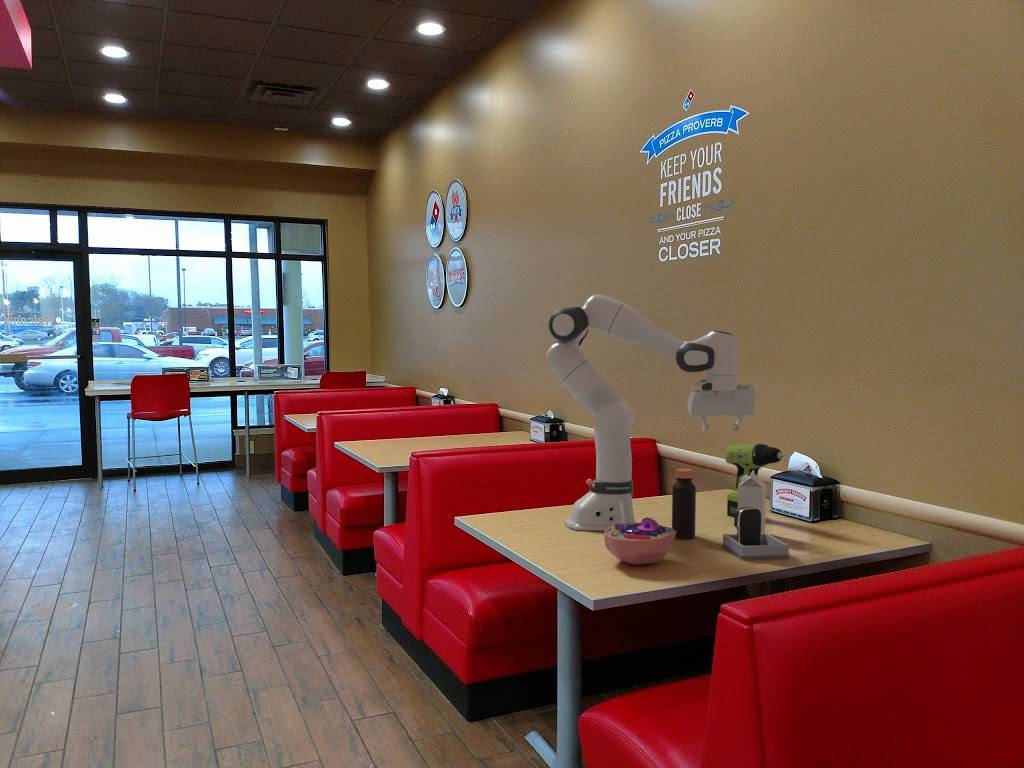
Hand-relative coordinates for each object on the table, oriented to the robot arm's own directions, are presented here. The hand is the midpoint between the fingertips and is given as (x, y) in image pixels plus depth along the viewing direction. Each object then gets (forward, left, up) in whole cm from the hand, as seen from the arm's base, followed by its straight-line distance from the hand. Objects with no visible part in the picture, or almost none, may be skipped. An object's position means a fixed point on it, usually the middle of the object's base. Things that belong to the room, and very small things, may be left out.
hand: (721, 430), depth 227 cm
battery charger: (-1, -23, -30) cm, 38 cm away
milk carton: (+8, -5, -31) cm, 33 cm away
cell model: (-33, -28, -31) cm, 53 cm away
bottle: (-13, -5, -31) cm, 34 cm away
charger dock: (+1, -23, -31) cm, 39 cm away
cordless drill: (+17, +12, -31) cm, 38 cm away
